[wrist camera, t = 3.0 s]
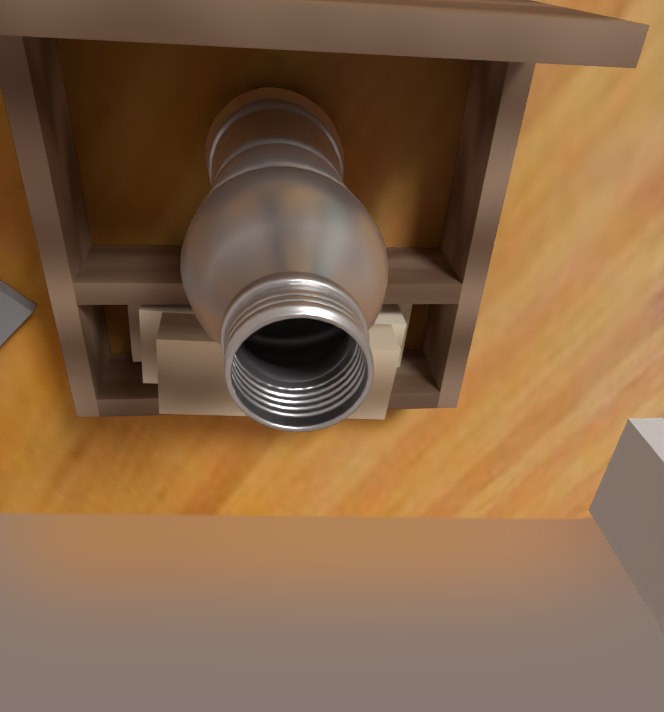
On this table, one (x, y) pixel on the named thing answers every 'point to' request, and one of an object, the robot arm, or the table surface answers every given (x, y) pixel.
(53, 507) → the table surface
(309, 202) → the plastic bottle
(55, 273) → the walnut rack
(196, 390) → the offcut top
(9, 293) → the grey mat
